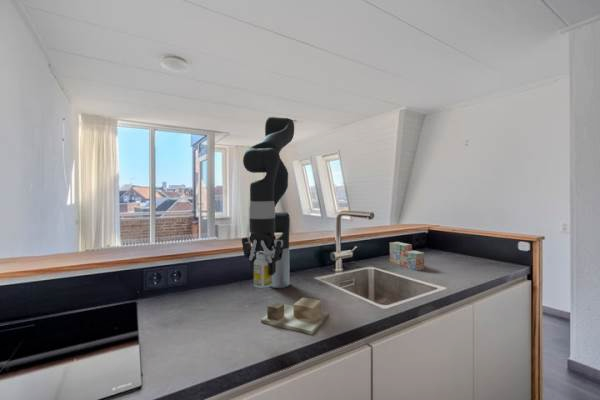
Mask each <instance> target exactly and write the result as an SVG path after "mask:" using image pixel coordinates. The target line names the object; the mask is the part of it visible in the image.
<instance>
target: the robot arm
mask: <svg viewBox="0 0 600 400" xmlns="http://www.w3.org/2000/svg"><path fill="white" fill-rule="evenodd" d="M294 134H295V123H294V120H292V119H290V118H288V117H276V116H269V117H267V118H266V121H265V126H264V135H265V136H264V137H263V138H262V140H261V141H260V142H259V143H256V144H254V145H252V146H250V147H249V148H247V150H246V151H245V152H244V155H243V158H242V164H243V166H244V168H245V169H246V171H247V172H249V173H254V174H255V173H256V174H257V173H260V174H261V173H262V174H263V173H265V176H264V177H263V178H262V179H259V180H254V181H252V182H251V183H250V185H249V207H248V208H249V211H248V213H249V214H248V215H249V216H248V217H249V218H248V221H249V233H250V234H249V235H250V236H246V237H243V238H241V244H242V249H243V250H242V251H243V256H244V258H246V259H248V260H249V261H250V262H249V263H250V271H251V273H252V274H254V261H255V260H256V259H257V258H256V253H257V252H265V255H266V256H267V258H268V261H269V263H268V275H270V276H272V285H271V286H270V287H271V288H275V289H280V288H281V289H282V288H283V289H284V288H287V287H289V286H290V226H291V225H290V224H291V223H290V222H291V220H290V219H291V218H290V215H289V213H288V212H285V211H284V212H281V211H280V212H276V206H277V204H278V203H279V201H280V200H281V199H282V198H283V196H284V195H285V193H286V192H287V189H288V187H289V186H288V185H289V172H288V168H287V167H286V166H285V163H284V162H283V161H282V159H281V157H280V152H281V151H282V150H283V148H285V147H286V146H287V145H288V144H289V143H291V142H292V141H293V139H294ZM276 233H277V234H280V233H281V235H279V236H278V237H276V236H275V234H276Z"/></svg>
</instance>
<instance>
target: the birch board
mask: <svg viewBox="0 0 600 400" xmlns="http://www.w3.org/2000/svg"><path fill="white" fill-rule="evenodd" d="M283 304H284V316H283V317H282V318H281V319H280V320H278V321H277V320H273V319H268V318H267V314H266V315H265V316H264V317H262V318H261V319H260V323H262V324H267V325H271V326H275V327H278V328H279V327H280V328H283V329H287V330H292V331H295V332H300V333H303V334H304V333H305V334H308V335H313V334H314V332H315V331H316V330H318V328H320V326H321V325H322V324H323V323H324V321H326V320H327V318H328V317H329V316H330V315H329V312H324V311H321V313H320V314H319V315H318V316H317V317H316V318H315V319H314V320H308V319H303V318H299V317H294V305H290V304H285V303H283Z"/></svg>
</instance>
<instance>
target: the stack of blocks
mask: <svg viewBox="0 0 600 400" xmlns="http://www.w3.org/2000/svg"><path fill="white" fill-rule="evenodd" d="M390 261H391V262H394V263H396V264H395V265H397V264H399V265H398V266H401V265H402V266H401V267H404V266H405V268H407V267H408V268H407V269H411V270H413V271H420V270H421V269H423V270H425V252H421V251H419V250H414V249H413V244H410V243H405V242H400V241H393V242H390V241H389V262H390ZM391 262H390V263H391ZM394 263H393V264H394ZM421 271H422V270H421Z"/></svg>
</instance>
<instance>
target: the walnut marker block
mask: <svg viewBox="0 0 600 400" xmlns="http://www.w3.org/2000/svg"><path fill="white" fill-rule="evenodd" d="M284 304H285V303H281V302H276V301H273V302H271V303H270V304H269V305H267V306H266V307H267V308H266V309H267V310H266V311H267V314H266V315H267V318H268V319H273V320H277V321H278V320H280V319H281V318H282V317H283V316H284Z"/></svg>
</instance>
